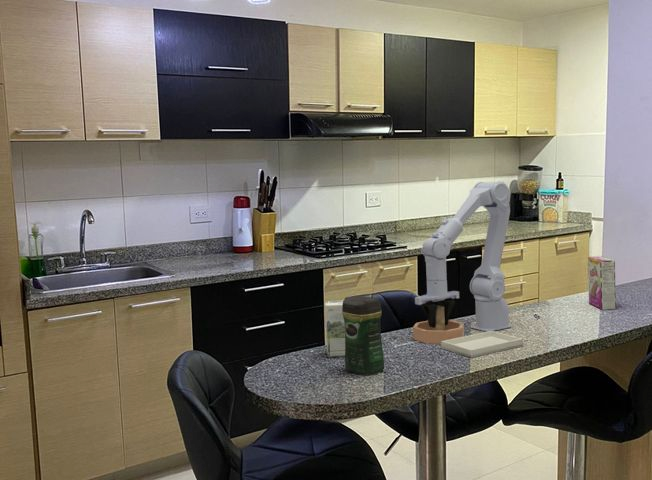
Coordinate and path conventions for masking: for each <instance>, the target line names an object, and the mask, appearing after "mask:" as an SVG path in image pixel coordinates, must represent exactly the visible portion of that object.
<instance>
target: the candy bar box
mask: <svg viewBox="0 0 652 480" xmlns="http://www.w3.org/2000/svg"><path fill="white" fill-rule="evenodd" d="M615 262H616V260H614V259H611V258H608V257H605V256H602V255H597V256H596V255H595V256H587V276H588V279H587V280H588V283H587V284H588V303H589V305H591V306H593V307H595V308H597V309H599V310H601V311H613V310H614V311H615V310H616V309H617V306H616V305H617V303H616V302H617V301H616V300H617V299H616V297H617V296H616V263H615Z"/></svg>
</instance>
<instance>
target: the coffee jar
mask: <svg viewBox="0 0 652 480" xmlns="http://www.w3.org/2000/svg"><path fill="white" fill-rule="evenodd" d="M343 300H344V301H343V305H342V314H343V318H344V324H345V356H344V367H345V370H346V371H348V372H350V373H354V374H358V375H363V376H366V375H367V376H368V375H378V374H379V373H381V372H382V371H383V370H384V369H385V360H384V359H385V358H384V351H383V350H384V349H383V342H382V331H381V318H382V311H383V310H382V306H381V300H379V298H376V297H370V296H364V295H353V296H346V297H345V298H344V299H343Z"/></svg>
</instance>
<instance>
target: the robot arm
mask: <svg viewBox="0 0 652 480" xmlns="http://www.w3.org/2000/svg"><path fill="white" fill-rule="evenodd" d="M511 193H512V192H511V189H510V188H509V187H508V185H507V184H506V183H505V182H504V181H500V180H499V181H489V182H488V181H487V182H485V181H478V182H477V183H476V184H475V185H474V186H473V187H472V188H471V189H470V190H469V195H468V196H467V198H466V199H465V201H464V202H463V203H462V205H461V206H460V207H459V208H458V210H457V211H456V213H455V215H454V216H453V217H448V218H446V219H443V220H442V222H441V223H442V224H441V225H440V226H439V228H438V229H437V230H436V231H435V232H433V233H432V236H431V237H429V238H426V239H425V240H424V242H423V244H422V247H420V251H421V253H422V255H423V256H424V262H425V269H426V270H425V272H426V274H425V275H426V294H422V295H419V296H416V297H414V304H415V305H418V306H420V307H421V309H422V310H423V312H424V315H425V316H426V321H428V323H429V327H433V328H435V327H436V311H437V307H438V306H444V317H445V325H448V321H449V320H450V316H451V313H452V310H453V308H454V306H455V305H456V301H455V300H454V299H460V291H458V290H451V291H448V280H447V279H448V278H447V275H448V273H447V256H449V255H450V251H451V247H452V245H453V243H454V242H455V241H456V240H457V238H458V237H459V236H460V235H461V233H463V231H464V224H465V223H466V221H468V220H469V219H470V217H472V215H473V214H474V213H475V212H476V211H477V210H478V209H479V208H480V207H483V208H484V209H486V211H487V212H488V214H489V222H488V227H487V232H486V237H485V243H484V248H483V253H482V259H481V264H480V266H479V267H478V268H476V269H475V270H474V273H473V277H472V278H471V280H470V282H469V291H470V292H471V294H472V295H473V298H474V299H475V302H474V303H475V305H474V306H475V324H473V325H470V326H469V328H471V329H473V330H475V329H476V330H478V331H482V332H488V331H495V332H496V331H498V330H504V329H508V328H511V327H512V325H510V316H509V315H510V314H509V311H510V310H509V304H508V301H507V300H506V299H505V298H504V297H503V296H504V295H505V292H506V284H505V279H506V278H505V277H506V276H505V274H504V273H503V271H502V270H501V269H500V268H501V263H502V258H503V253H504V248H505V247H504V246H505V241H506V236H507V230H508V225H509V220H510V215H511V207H510V197H511ZM434 302H435V303H436V302H437V303H438V304H435V303H434Z"/></svg>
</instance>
